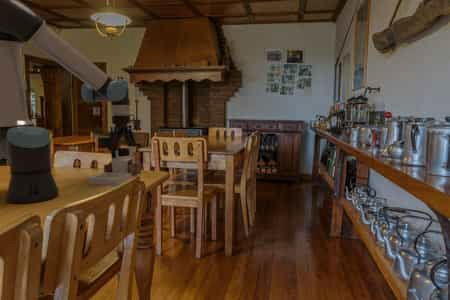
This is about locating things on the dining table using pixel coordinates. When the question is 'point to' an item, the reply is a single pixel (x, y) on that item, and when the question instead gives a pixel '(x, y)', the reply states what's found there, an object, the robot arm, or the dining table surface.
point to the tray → (109, 178)
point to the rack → (132, 169)
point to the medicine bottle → (122, 161)
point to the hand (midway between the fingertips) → (123, 162)
